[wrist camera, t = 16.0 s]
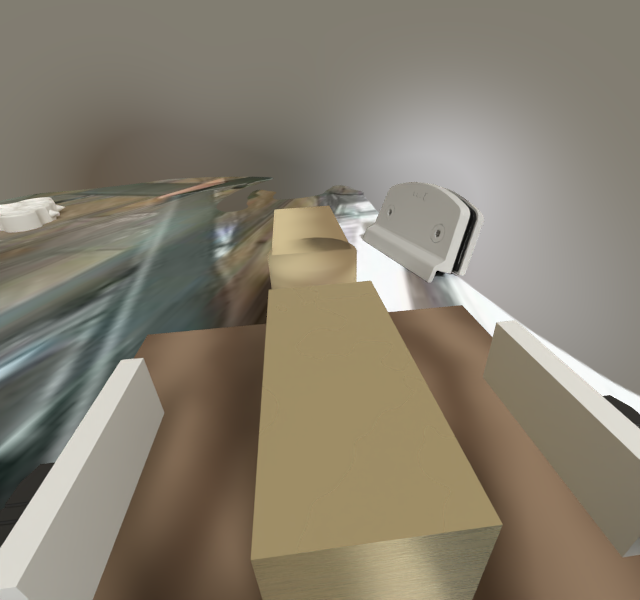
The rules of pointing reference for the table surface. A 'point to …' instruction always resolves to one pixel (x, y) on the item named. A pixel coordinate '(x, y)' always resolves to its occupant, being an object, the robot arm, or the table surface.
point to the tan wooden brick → (358, 462)
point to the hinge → (426, 229)
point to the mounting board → (243, 437)
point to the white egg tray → (28, 214)
